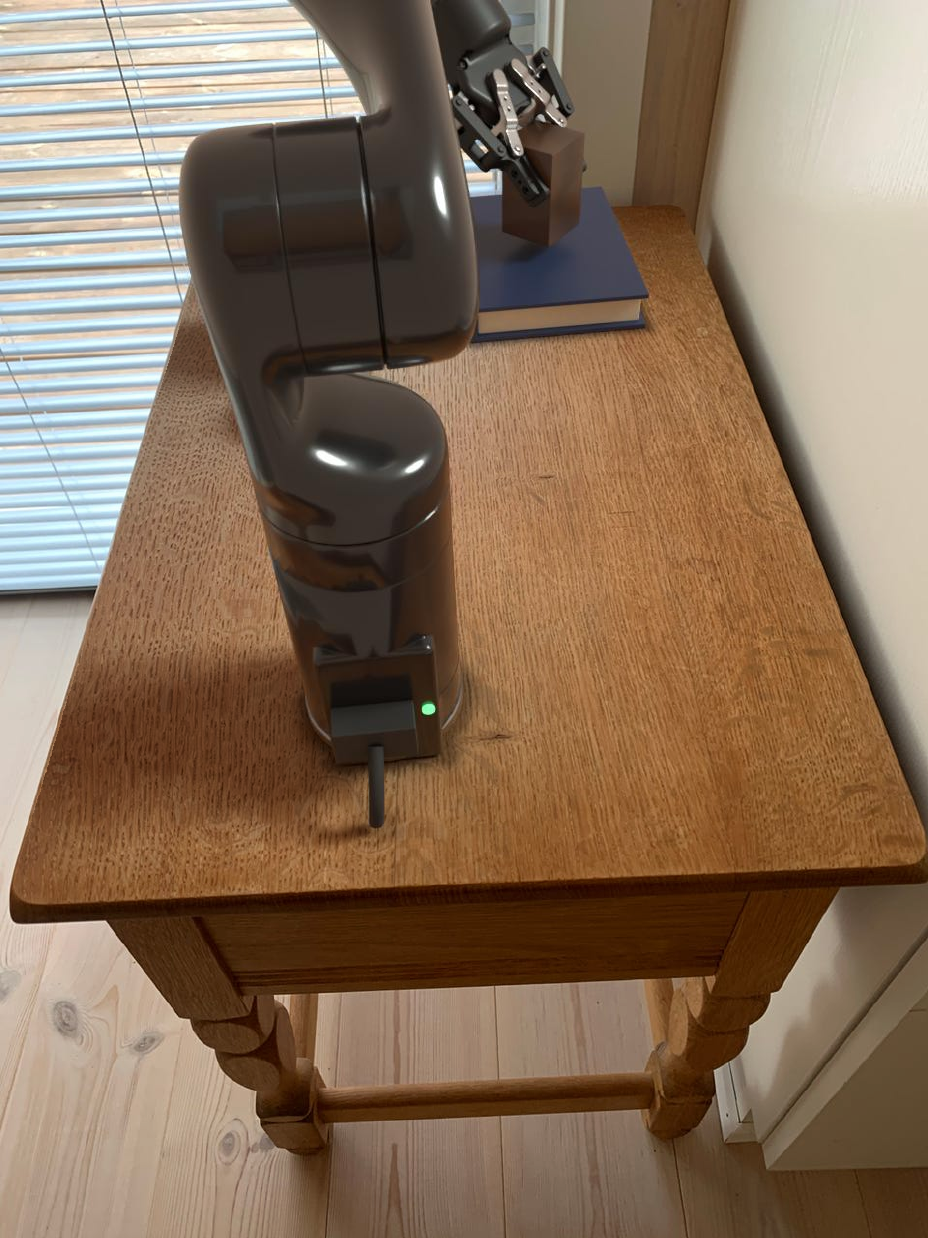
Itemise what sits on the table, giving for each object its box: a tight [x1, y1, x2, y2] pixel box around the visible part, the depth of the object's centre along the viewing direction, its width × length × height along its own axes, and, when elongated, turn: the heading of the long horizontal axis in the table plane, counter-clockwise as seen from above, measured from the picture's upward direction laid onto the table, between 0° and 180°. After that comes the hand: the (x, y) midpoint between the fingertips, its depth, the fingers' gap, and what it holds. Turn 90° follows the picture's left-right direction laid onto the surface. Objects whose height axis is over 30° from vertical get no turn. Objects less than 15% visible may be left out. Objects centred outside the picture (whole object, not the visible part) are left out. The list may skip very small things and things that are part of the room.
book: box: [470, 186, 650, 344], centre depth 90 cm, size 20×15×3 cm
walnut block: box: [501, 120, 586, 247], centre depth 85 cm, size 5×5×8 cm
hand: (560, 187), depth 84 cm, fingers closed on walnut block, 5 cm apart
